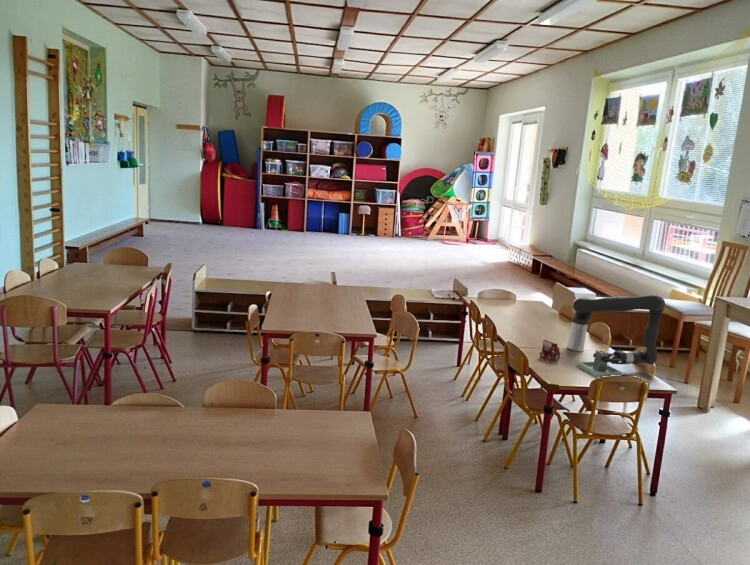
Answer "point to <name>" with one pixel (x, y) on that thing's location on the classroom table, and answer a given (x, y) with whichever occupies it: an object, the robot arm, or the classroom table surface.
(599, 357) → the block
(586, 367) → the green tray
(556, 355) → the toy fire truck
